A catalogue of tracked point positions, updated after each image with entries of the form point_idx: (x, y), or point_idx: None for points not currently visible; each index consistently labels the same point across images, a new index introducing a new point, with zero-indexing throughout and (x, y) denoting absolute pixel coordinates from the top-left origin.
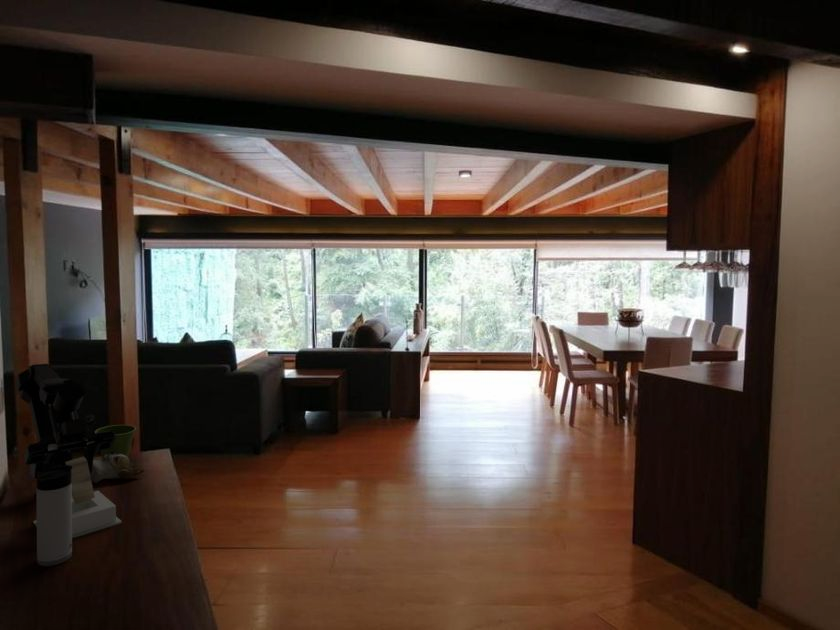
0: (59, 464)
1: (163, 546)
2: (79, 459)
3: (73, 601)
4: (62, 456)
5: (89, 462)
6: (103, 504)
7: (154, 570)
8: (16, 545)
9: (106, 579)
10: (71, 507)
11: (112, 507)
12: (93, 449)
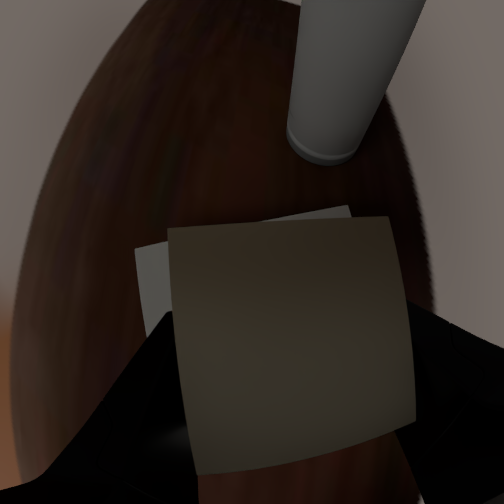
0: (466, 335)
1: (115, 95)
2: (258, 384)
3: (281, 21)
4: (495, 398)
5: (151, 370)
6: (170, 292)
7: (162, 39)
8: (415, 266)
9: (232, 40)
10: (299, 21)
11: (147, 246)
12: (43, 490)
